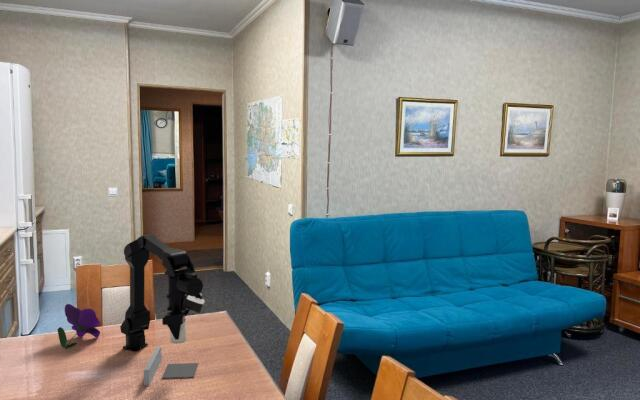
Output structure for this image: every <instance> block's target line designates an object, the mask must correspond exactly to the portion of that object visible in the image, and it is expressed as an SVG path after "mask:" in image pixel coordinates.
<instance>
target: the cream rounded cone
mask: <svg viewBox="0 0 640 400" xmlns="http://www.w3.org/2000/svg"><path fill="white" fill-rule="evenodd" d="M169 333H170V343H172V344H173V345H174V344H175V345H179V344H183V343H185V342H186V341H187V321H186V320H185V321H184V323H183V324H181V328H180V335H179V339H178V340H176V339H175V338H174V336H173V334H172V333H171V331H170V330H169Z"/></svg>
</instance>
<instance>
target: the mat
mask: <svg viewBox="0 0 640 400" xmlns="http://www.w3.org/2000/svg"><path fill="white" fill-rule="evenodd" d="M198 366H199V363H198V362H188V363H185V362H184V363H168V364H167V365H166V368H165V370H164V371H163V373H162V377H161V380H166V379H167V380H168V379H169V380H172V379H193V378H195V375H196V371H197V368H198Z"/></svg>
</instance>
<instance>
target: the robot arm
mask: <svg viewBox="0 0 640 400" xmlns="http://www.w3.org/2000/svg"><path fill="white" fill-rule="evenodd" d="M123 254H124V259H125V262H126V263H127V264H128V266H129V307H128V308H127V309H126V310H125V314H124V320H123V322H122V323H121V325H120V327H119V329H120V333H122V335H125V345H123V346H122V349H124V350H128V351H132V352H137V351H140V350H142V349H143V348H145V347H148V345H149V343H147V342H146V335H145V331H146V330H149V329H150V322H151V311H150V309H148V308H147V307H146V305H145V277H146V276H145V267H146V265H147V263H148V262H149V260H150V255H151V254H152V255H154V256H155V257H156V258H158V259H160V260H161V265H162V266H163V268H165V270H166V271H165V272H164V275H165V276H167V291H168V292H167V295H166V299H168V306H167V308H166V309H167V312H166V313H165V314H164V315H163V316H162V319H161V322H162V326H167V327H168V330H169V332H170V331H171V333H172V334H173V336H174V338H175V339H176V340H178V339H179V335H180V328H181V324H183V323H184V321H186V316H187V315H188V314H189V313H190V311H193V312H195V313H197V314H201V313H202V311H203V307H204V306H205V305H204V304H205V302H206V301H205V298H203V294H202V292H203V288H204V284H203V282H202V280H201V278H198V274H197V273H196V270H195V266H194V264H193V262H192V260H191V257H190V255H189V254H188V253H187V251H185V250H183V249H180V248H173V247H171V246H169V245H168V244H167V243H164V242H163V241H161V240H160V239H159V238H157V237H156V235H155V234H146V235H145V234H144V235H141V236H139V237H138V238H137V239H135V240H133V241H131V242H129V243H127V244H126V245H125V246H124V248H123Z"/></svg>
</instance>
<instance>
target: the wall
mask: <svg viewBox="0 0 640 400" xmlns="http://www.w3.org/2000/svg"><path fill="white" fill-rule="evenodd" d="M161 362H162V346H156V348H155V349H154V351H153V353H152V354H151V356H150V358H149V360H148V362H147V363H146V365H145V367H144V369H143V385H144V386H150V384H151V383H152V380H153V379H154V376H155V375H156V372H157V370H158V369H159V367H160V364H161Z"/></svg>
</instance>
